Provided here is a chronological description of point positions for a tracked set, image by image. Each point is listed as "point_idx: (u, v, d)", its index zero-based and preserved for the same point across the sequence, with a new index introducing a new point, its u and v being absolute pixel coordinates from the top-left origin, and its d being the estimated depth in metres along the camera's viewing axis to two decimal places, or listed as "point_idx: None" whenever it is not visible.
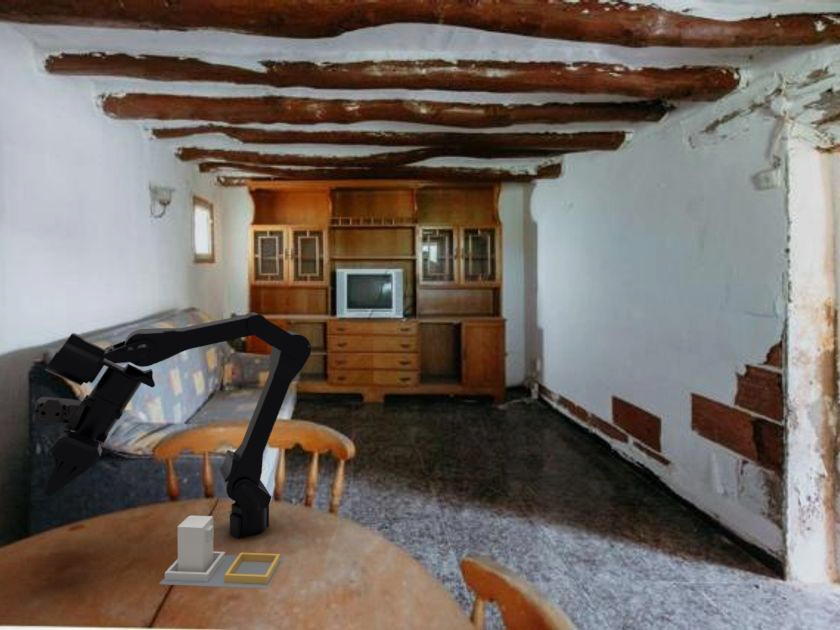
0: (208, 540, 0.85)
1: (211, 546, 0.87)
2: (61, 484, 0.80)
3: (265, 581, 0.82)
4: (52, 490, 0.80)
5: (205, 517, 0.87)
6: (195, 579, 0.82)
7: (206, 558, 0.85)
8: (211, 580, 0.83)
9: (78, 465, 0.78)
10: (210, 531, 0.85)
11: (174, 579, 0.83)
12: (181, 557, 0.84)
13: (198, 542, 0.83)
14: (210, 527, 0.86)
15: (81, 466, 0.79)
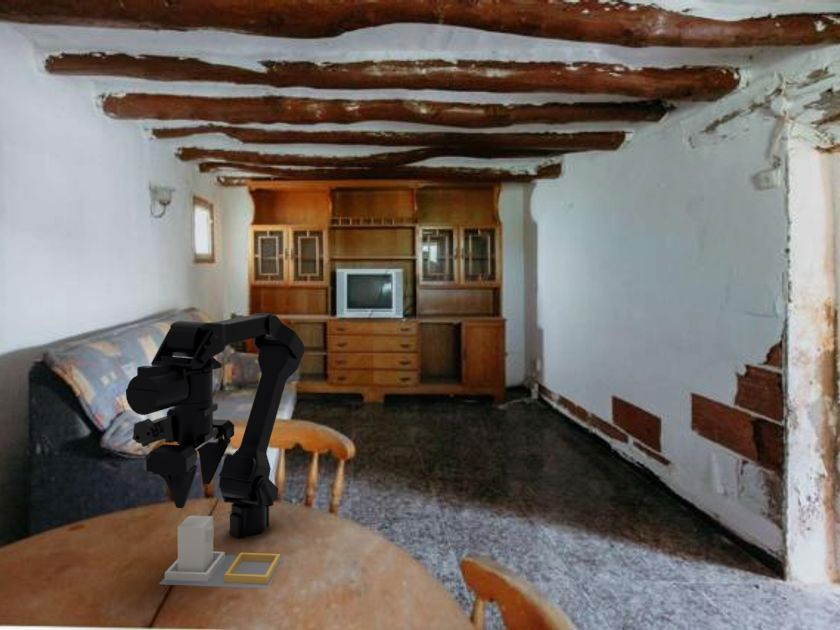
0: (208, 540, 0.85)
1: (211, 546, 0.87)
2: (183, 493, 0.79)
3: (265, 581, 0.82)
4: (180, 501, 0.80)
5: (205, 517, 0.87)
6: (195, 579, 0.82)
7: (206, 558, 0.85)
8: (211, 580, 0.83)
9: (176, 473, 0.76)
10: (210, 531, 0.85)
11: (174, 579, 0.83)
12: (181, 557, 0.84)
13: (198, 542, 0.83)
14: (210, 527, 0.86)
15: (179, 473, 0.76)
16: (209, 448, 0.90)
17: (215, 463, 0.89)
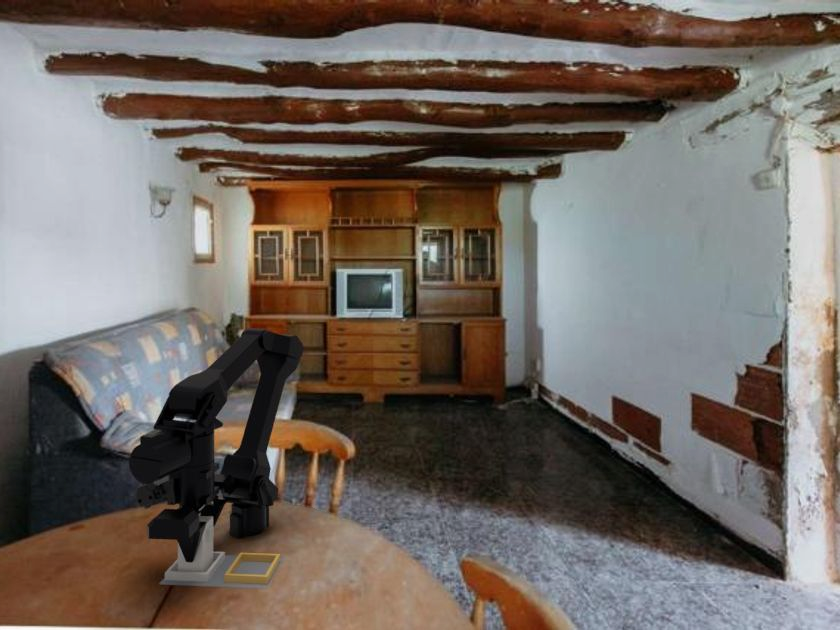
0: (208, 540, 0.85)
1: (211, 546, 0.87)
2: (192, 549, 0.83)
3: (265, 581, 0.82)
4: (190, 556, 0.83)
5: (205, 517, 0.87)
6: (195, 579, 0.82)
7: (206, 558, 0.85)
8: (211, 580, 0.83)
9: None
10: (210, 531, 0.85)
11: (174, 579, 0.83)
12: (181, 557, 0.84)
13: None
14: (210, 527, 0.86)
15: None
16: (204, 511, 0.88)
17: None
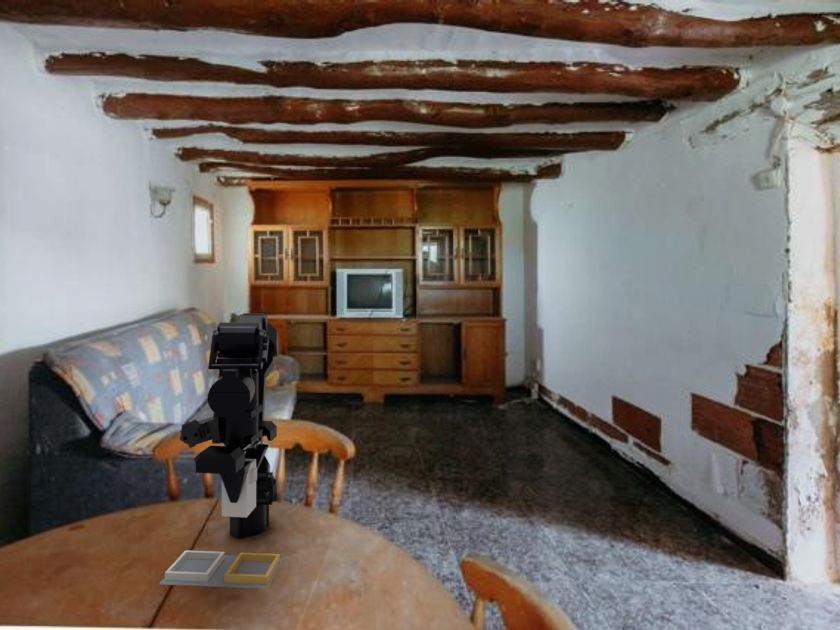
0: (252, 481, 0.84)
1: (254, 489, 0.86)
2: (237, 488, 0.82)
3: (265, 581, 0.82)
4: (234, 496, 0.82)
5: (248, 460, 0.86)
6: (195, 579, 0.82)
7: (249, 500, 0.84)
8: (211, 580, 0.83)
9: None
10: (254, 472, 0.84)
11: (174, 579, 0.83)
12: (225, 497, 0.83)
13: None
14: (254, 469, 0.84)
15: None
16: (247, 454, 0.87)
17: None
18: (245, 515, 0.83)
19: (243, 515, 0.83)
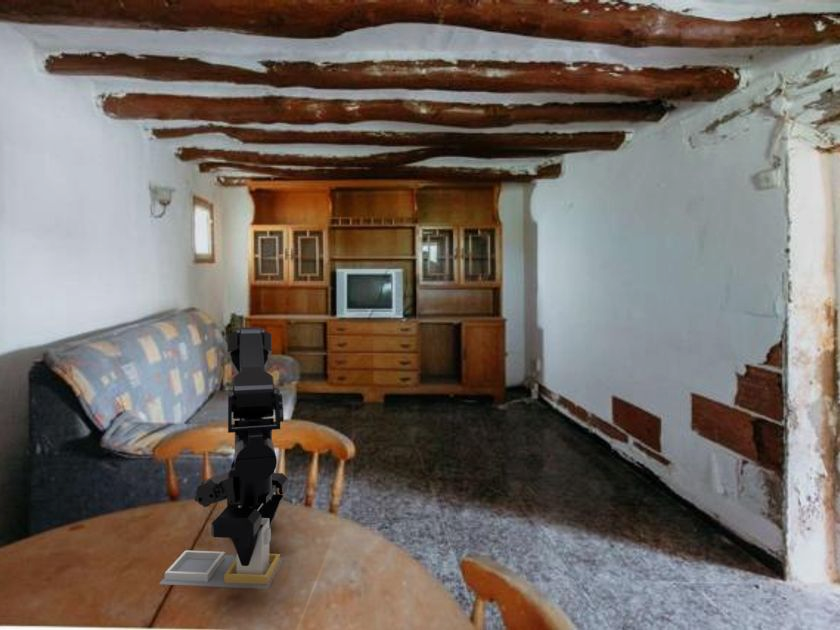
0: (266, 542, 0.84)
1: (268, 548, 0.87)
2: (249, 552, 0.81)
3: (265, 581, 0.82)
4: (245, 560, 0.81)
5: (262, 519, 0.86)
6: (195, 579, 0.82)
7: (264, 560, 0.85)
8: (211, 580, 0.83)
9: None
10: (268, 533, 0.85)
11: (174, 579, 0.83)
12: None
13: (257, 544, 0.83)
14: (268, 529, 0.85)
15: None
16: (263, 506, 0.89)
17: (269, 521, 0.89)
18: None
19: None
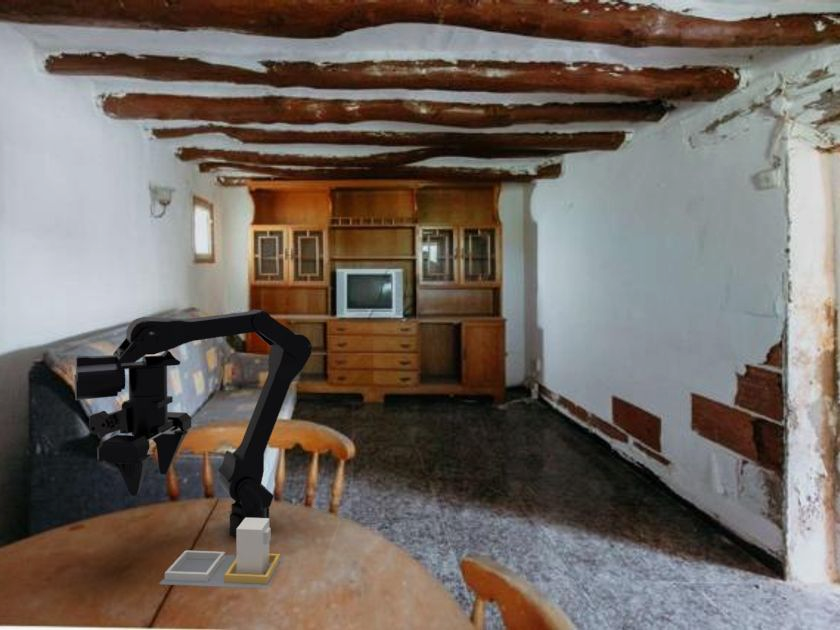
0: (266, 542, 0.84)
1: (268, 548, 0.87)
2: (136, 482, 0.83)
3: (265, 581, 0.82)
4: (133, 489, 0.84)
5: (262, 519, 0.86)
6: (195, 579, 0.82)
7: (264, 560, 0.85)
8: (211, 580, 0.83)
9: (128, 462, 0.80)
10: (268, 533, 0.85)
11: (174, 579, 0.83)
12: (240, 559, 0.83)
13: (257, 544, 0.83)
14: (268, 529, 0.85)
15: (131, 462, 0.80)
16: (166, 439, 0.93)
17: (172, 454, 0.93)
18: None
19: None
